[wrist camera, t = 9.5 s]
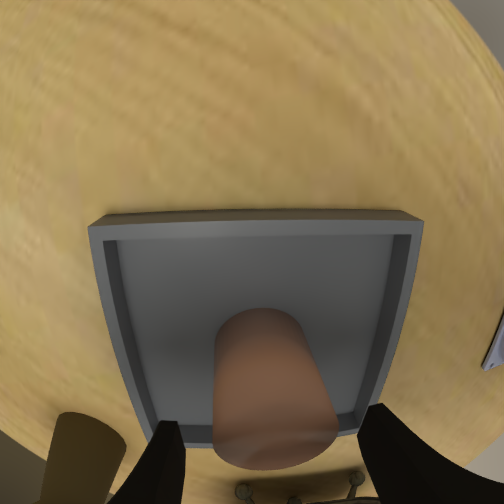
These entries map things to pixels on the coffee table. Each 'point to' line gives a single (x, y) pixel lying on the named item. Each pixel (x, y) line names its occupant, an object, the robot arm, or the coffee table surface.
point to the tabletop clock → (354, 479)
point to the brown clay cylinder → (268, 393)
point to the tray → (252, 299)
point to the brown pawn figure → (81, 461)
